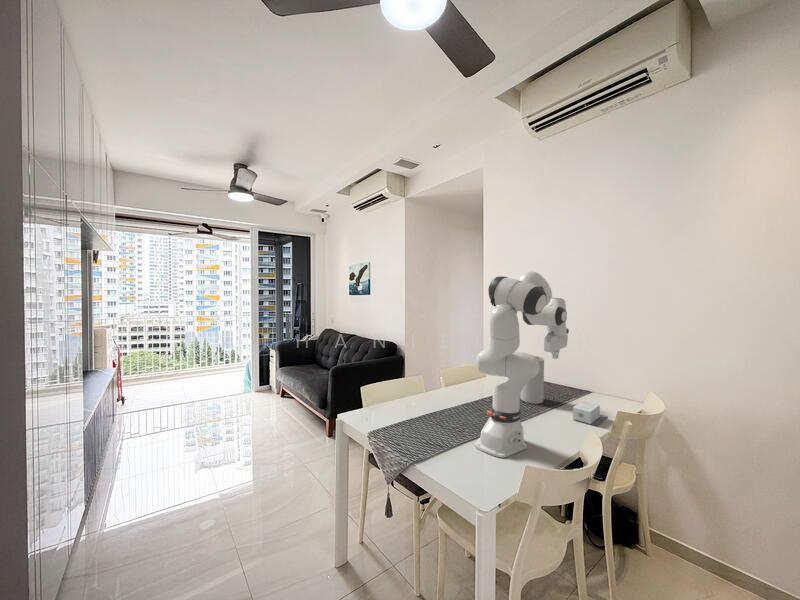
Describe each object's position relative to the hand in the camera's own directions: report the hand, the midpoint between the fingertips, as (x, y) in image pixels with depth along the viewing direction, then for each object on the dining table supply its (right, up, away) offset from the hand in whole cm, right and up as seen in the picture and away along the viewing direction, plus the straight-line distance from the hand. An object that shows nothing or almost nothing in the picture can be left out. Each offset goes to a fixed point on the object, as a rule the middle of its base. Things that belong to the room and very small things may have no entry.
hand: (555, 358), depth 155 cm
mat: (+20, -31, +3) cm, 37 cm away
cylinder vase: (0, -30, +29) cm, 42 cm away
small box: (+12, -28, -2) cm, 30 cm away
